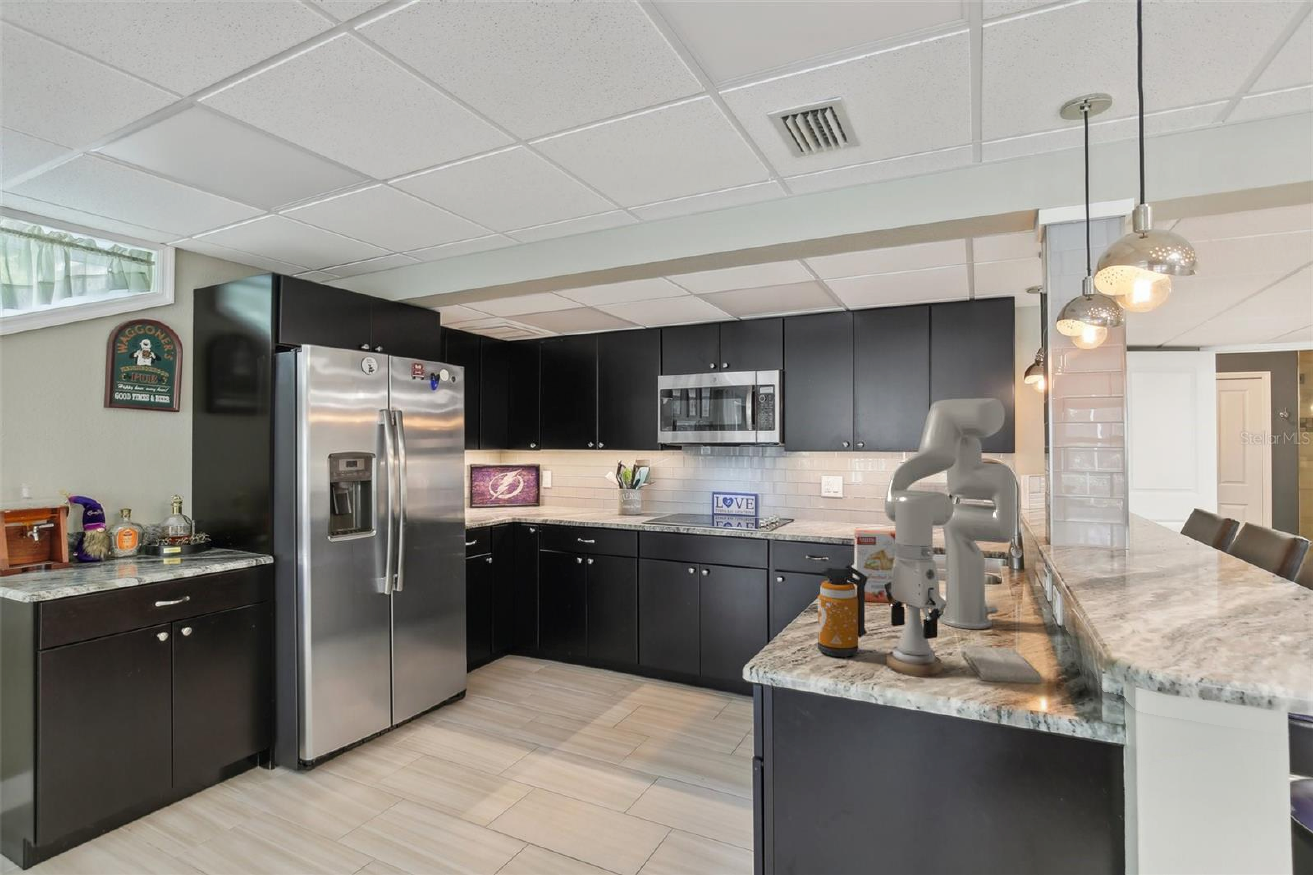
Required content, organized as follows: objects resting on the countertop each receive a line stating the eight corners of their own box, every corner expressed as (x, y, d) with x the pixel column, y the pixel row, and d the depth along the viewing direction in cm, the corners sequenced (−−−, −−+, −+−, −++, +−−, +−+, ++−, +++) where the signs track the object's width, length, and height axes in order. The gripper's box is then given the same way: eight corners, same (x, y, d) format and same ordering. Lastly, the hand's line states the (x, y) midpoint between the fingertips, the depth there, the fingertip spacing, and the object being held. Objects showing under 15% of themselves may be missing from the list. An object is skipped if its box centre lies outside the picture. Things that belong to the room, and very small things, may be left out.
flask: (935, 657, 141) (935, 610, 141) (898, 655, 142) (898, 608, 142) (928, 646, 148) (928, 601, 148) (893, 644, 149) (893, 599, 149)
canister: (814, 646, 160) (814, 561, 159) (861, 646, 159) (861, 562, 159) (822, 658, 151) (822, 569, 150) (872, 659, 150) (872, 569, 150)
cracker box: (856, 601, 201) (856, 532, 201) (853, 596, 207) (853, 529, 207) (905, 603, 199) (905, 533, 199) (901, 598, 205) (901, 530, 205)
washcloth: (1012, 657, 152) (1012, 644, 152) (1043, 687, 135) (1043, 672, 135) (956, 655, 154) (956, 641, 154) (980, 684, 137) (980, 668, 137)
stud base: (915, 656, 152) (915, 641, 152) (953, 672, 142) (953, 656, 142) (875, 662, 148) (875, 646, 148) (911, 679, 138) (911, 662, 138)
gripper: (958, 557, 138) (958, 641, 138) (899, 544, 154) (899, 619, 154) (929, 560, 135) (929, 645, 135) (872, 546, 151) (872, 622, 151)
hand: (913, 631), depth 145 cm, fingers open, 9 cm apart
